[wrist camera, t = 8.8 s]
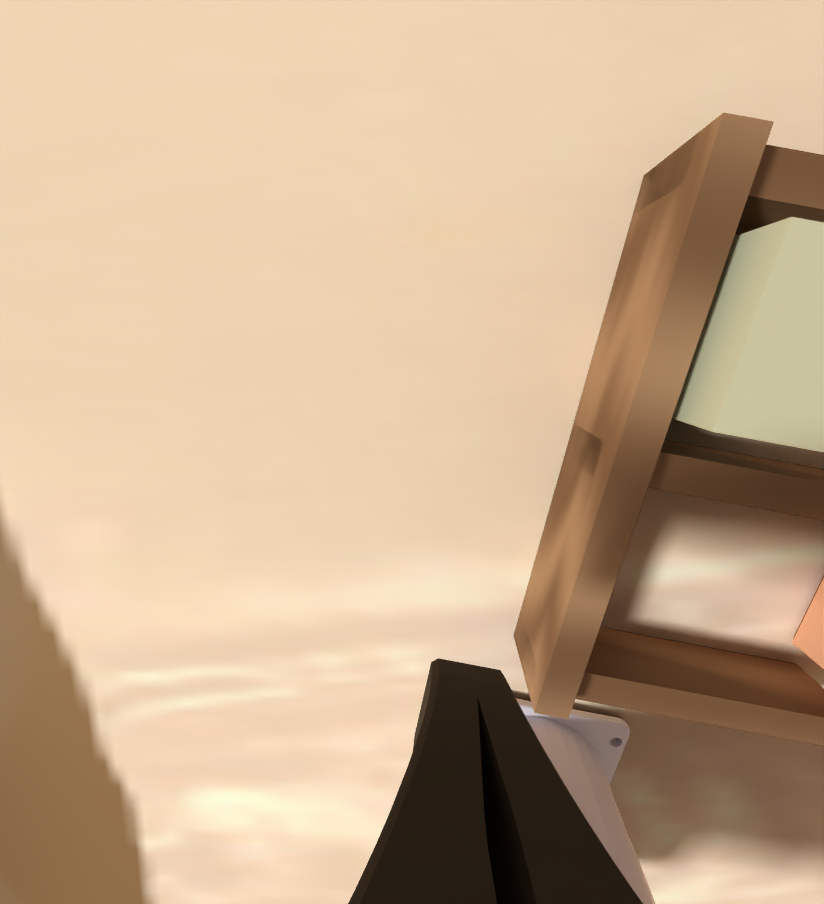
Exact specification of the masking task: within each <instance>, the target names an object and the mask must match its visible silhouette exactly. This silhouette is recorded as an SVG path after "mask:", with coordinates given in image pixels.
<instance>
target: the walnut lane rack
mask: <svg viewBox="0 0 824 904" xmlns="http://www.w3.org/2000/svg"><path fill="white" fill-rule="evenodd" d="M772 125H773V121H767V120H761V119H756V118H750V117H745V116H739V115H734V114H728V113H723V114H721V115H720V116H719V117H718V118H716V119H715V120H714V121H713V122H711V123H710V124H709V125H707V126H706V127H705V128H704V129H702V130H701V131H700V132H699V133H697V134H696V135H695V136H693V137H692V138H691V139H690V140H688V141H687V142H686V143H685V144H683V145H682V146H681V147H679V148H678V149H677V150H676V151H674V152H673V153H672V154H671V155H669V156H668V157H667V158H666V159H664V160H663V161H662V162H660V163H659V164H658V165H657V166H655V167H654V168H653V169H652V170H650V171H649V172H648V173H646V174H645V175H644V177H643V181H642V185H641V188H640V192H639V195H638V199H637V202H636V206H635V209H634V213H633V216H632V220H631V223H630V227H629V230H628V234H627V238H626V241H625V245H624V248H623V252H622V255H621V259H620V262H619V266H618V269H617V273H616V276H615V280H614V283H613V287H612V290H611V294H610V298H609V301H608V305H607V308H606V312H605V315H604V319H603V322H602V326H601V329H600V333H599V336H598V340H597V343H596V347H595V350H594V354H593V358H592V361H591V365H590V368H589V372H588V375H587V379H586V382H585V386H584V389H583V393H582V396H581V400H580V403H579V407H578V411H577V414H576V418H575V421H574V425H573V428H572V432H571V435H570V439H569V442H568V446H567V449H566V453H565V456H564V460H563V463H562V467H561V471H560V474H559V478H558V481H557V485H556V488H555V492H554V495H553V499H552V502H551V506H550V509H549V513H548V516H547V520H546V524H545V527H544V531H543V534H542V538H541V541H540V545H539V548H538V552H537V555H536V559H535V562H534V566H533V569H532V573H531V576H530V580H529V584H528V587H527V591H526V594H525V598H524V601H523V605H522V608H521V612H520V615H519V619H518V622H517V626H516V629H515V633H514V638H515V642H516V646H517V650H518V653H519V657H520V661H521V665H522V669H523V672H524V676H525V680H526V684H527V688H528V691H529V695H530V699H531V703H532V706H533V710H534V713H538V714H543V715H548V716H553V717H559V718H564V719H569V716H570V713H571V710H572V707H573V704H574V701H575V699H578V700H584V701H589V702H594V703H600V704H605V705H610V706H615V707H621V708H626V709H631V710H637V711H642V712H647V713H652V714H658V715H663V716H668V717H674V718H679V719H684V720H689V721H695V722H700V723H705V724H711V725H716V726H721V727H726V728H732V729H737V730H742V731H748V732H753V733H758V734H763V735H769V736H774V737H779V738H785V739H790V740H795V741H800V742H806V743H811V744H816V745H822V746H824V689H823V688H822V687H821V686H820V685H819V684H818V683H817V682H816V681H814V680H813V679H812V678H811V677H810V676H809V675H808V674H807V673H806V672H804V671H803V670H802V669H801V668H800V667H799V666H798V665H797V664H793V663H788V662H782V661H777V660H772V659H766V658H761V657H756V656H750V655H745V654H740V653H735V652H729V651H724V650H719V649H713V648H708V647H703V646H697V645H692V644H687V643H681V642H676V641H671V640H665V639H660V638H655V637H650V636H644V635H639V634H634V633H628V632H623V631H618V630H612V629H607V628H602V627H600V626H601V623H602V620H603V617H604V614H605V611H606V608H607V605H608V602H609V599H610V597H611V594H612V591H613V588H614V585H615V582H616V579H617V576H618V573H619V570H620V567H621V565H622V562H623V559H624V556H625V553H626V550H627V547H628V544H629V541H630V538H631V535H632V533H633V530H634V527H635V524H636V521H637V518H638V515H639V512H640V509H641V506H642V503H643V501H644V498H645V495H646V492H647V489H648V488H652V489H657V490H662V491H668V492H673V493H679V494H684V495H689V496H695V497H700V498H705V499H711V500H716V501H722V502H727V503H732V504H738V505H743V506H748V507H754V508H759V509H764V510H770V511H775V512H781V513H786V514H791V515H797V516H802V517H807V518H813V519H818V520H824V470H823V469H818V468H812V467H807V466H802V465H796V464H791V463H785V462H780V461H775V460H769V459H764V458H758V457H753V456H748V455H742V454H737V453H731V452H726V451H721V450H715V449H710V448H705V447H699V446H694V445H688V444H683V443H678V442H672V441H667V440H664V439H665V437H666V434H667V431H668V428H669V425H670V422H671V419H672V416H673V413H674V410H675V407H676V405H677V402H678V399H679V396H680V393H681V390H682V387H683V384H684V381H685V378H686V375H687V373H688V370H689V367H690V364H691V361H692V358H693V355H694V352H695V349H696V346H697V343H698V341H699V338H700V335H701V332H702V329H703V326H704V323H705V320H706V317H707V314H708V311H709V309H710V306H711V303H712V300H713V297H714V294H715V291H716V288H717V285H718V282H719V279H720V277H721V274H722V271H723V268H724V265H725V262H726V259H727V256H728V253H729V250H730V247H731V245H732V242H733V239H734V236H735V234H737V235H740V234H743V233H746V232H749V231H752V230H755V229H758V228H761V227H763V226H766V225H769V224H772V223H775V222H778V221H781V220H784V219H787V218H790V217H796V218H801V219H807V220H812V221H818V222H823V223H824V155H820V154H815V153H809V152H804V151H798V150H793V149H787V148H782V147H776V146H771V145H766V143H767V140H768V137H769V134H770V131H771V128H772Z"/></svg>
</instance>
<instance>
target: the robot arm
mask: <svg viewBox="0 0 824 904" xmlns="http://www.w3.org/2000/svg"><path fill="white" fill-rule="evenodd" d="M629 736H630V729H629V727H628V725H627V723H626V721H625V720H623V719H621V718H617V717H612V716H606V715H601V714H596V713H590V712H585V711H580V710H575V709H572V710H571V713H570V716H569V719H564V718H559V717H553V716H548V715H543V714H538V713H534V710H533V706H532V703H531V701H527V700H522V699H517V698H515V696H514V694H513V692H512V690H511V688H510V686H509V684H508V683H507V681H506V679H505V677H504V675H503V674H502V672H501V671H500V670H496V669H491V668H486V667H480V666H475V665H470V664H465V663H459V662H454V661H449V660H443V659H437V660H435V661H433V662H431V666H430V671H429V675H428V679H427V684H426V688H425V692H424V697H423V701H422V706H421V710H420V714H419V719H418V723H417V728H416V732H415V738H414V747H413V754H412V756H411V759H410V762H409V765H408V767H407V770H406V773H405V775H404V778H403V780H402V783H401V785H400V788H399V791H398V793H397V796H396V798H395V801H394V804H393V806H392V809H391V811H390V813H389V816H388V818H387V821H386V823H385V825H384V828H383V830H382V832H381V835H380V837H379V839H378V841H377V844H376V846H375V848H374V850H373V853H372V855H371V857H370V859H369V861H368V863H367V866H366V868H365V870H364V872H363V874H362V876H361V879H360V881H359V883H358V885H357V887H356V889H355V891H354V893H353V895H352V897H351V899H350V901H349V903H348V904H655V901H654V899H653V896H652V894H651V891H650V889H649V886H648V883H647V881H646V878H645V876H644V873H643V871H642V868H641V865H640V863H639V860H638V858H637V855H636V853H635V850H634V848H633V845H632V842H631V840H630V837H629V835H628V832H627V830H626V827H625V824H624V822H623V819H622V817H621V814H620V812H619V809H618V806H617V804H616V801H615V799H614V796H613V794H612V791H611V789H610V784H611V781H612V779H613V776H614V774H615V771H616V769H617V766H618V764H619V761H620V759H621V756H622V753H623V751H624V748H625V746H626V743H627V741H628V738H629ZM613 738H614V739H613Z"/></svg>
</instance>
